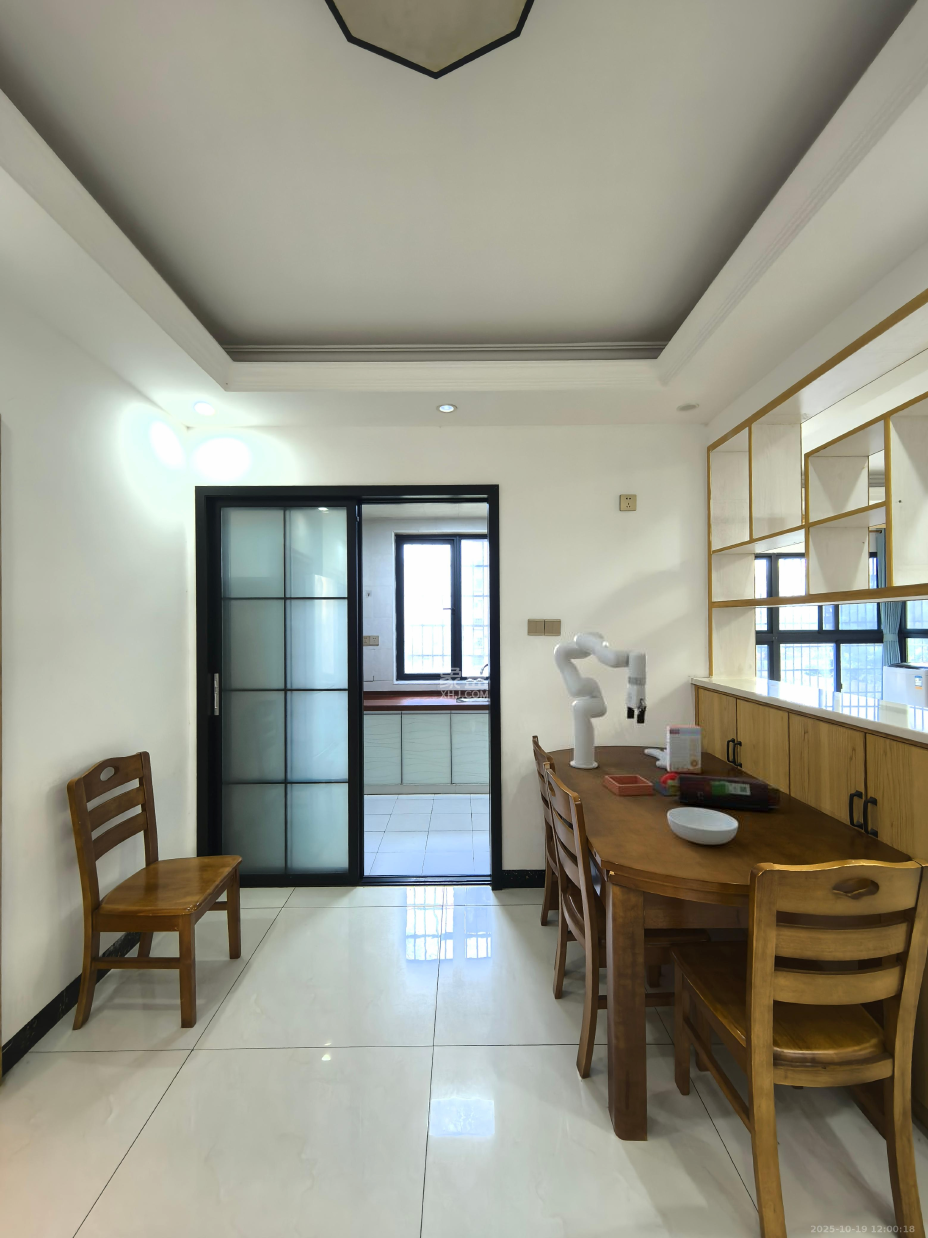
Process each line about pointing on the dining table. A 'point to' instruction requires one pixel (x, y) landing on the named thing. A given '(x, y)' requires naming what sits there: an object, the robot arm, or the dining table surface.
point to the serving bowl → (702, 825)
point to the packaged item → (725, 792)
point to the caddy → (628, 785)
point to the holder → (659, 755)
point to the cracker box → (683, 749)
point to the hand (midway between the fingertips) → (635, 721)
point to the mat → (661, 788)
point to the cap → (668, 778)
